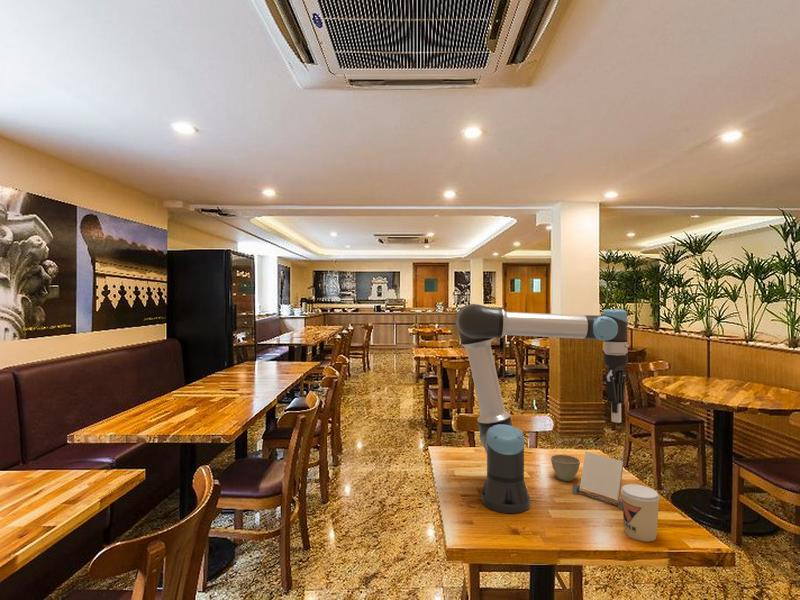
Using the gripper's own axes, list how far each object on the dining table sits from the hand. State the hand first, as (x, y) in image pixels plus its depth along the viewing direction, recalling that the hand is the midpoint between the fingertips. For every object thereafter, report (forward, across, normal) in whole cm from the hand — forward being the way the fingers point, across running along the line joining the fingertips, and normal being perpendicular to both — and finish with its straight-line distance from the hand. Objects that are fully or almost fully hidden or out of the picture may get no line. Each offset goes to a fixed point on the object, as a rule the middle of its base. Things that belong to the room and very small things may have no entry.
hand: (616, 421), depth 151 cm
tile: (+16, -11, 0) cm, 19 cm away
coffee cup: (+23, -26, -17) cm, 39 cm away
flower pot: (+23, -5, +16) cm, 29 cm away
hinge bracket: (+23, -14, 0) cm, 27 cm away
